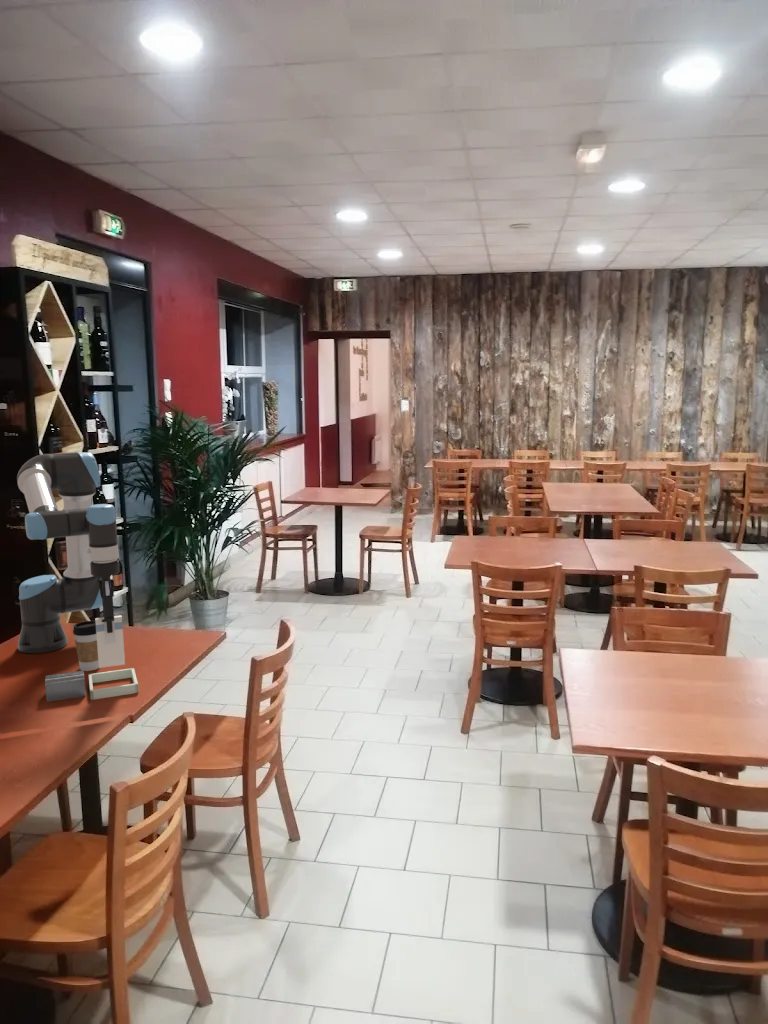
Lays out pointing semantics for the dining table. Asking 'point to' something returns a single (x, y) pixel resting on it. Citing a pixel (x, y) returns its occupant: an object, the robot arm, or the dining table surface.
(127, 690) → the tray
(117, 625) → the white striped flat box
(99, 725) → the dining table surface
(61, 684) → the dispenser
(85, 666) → the coffee cup
